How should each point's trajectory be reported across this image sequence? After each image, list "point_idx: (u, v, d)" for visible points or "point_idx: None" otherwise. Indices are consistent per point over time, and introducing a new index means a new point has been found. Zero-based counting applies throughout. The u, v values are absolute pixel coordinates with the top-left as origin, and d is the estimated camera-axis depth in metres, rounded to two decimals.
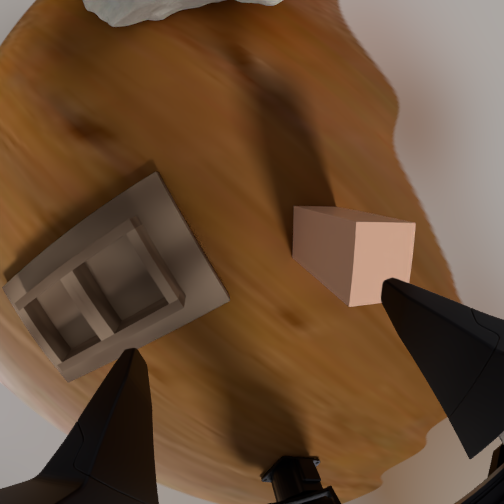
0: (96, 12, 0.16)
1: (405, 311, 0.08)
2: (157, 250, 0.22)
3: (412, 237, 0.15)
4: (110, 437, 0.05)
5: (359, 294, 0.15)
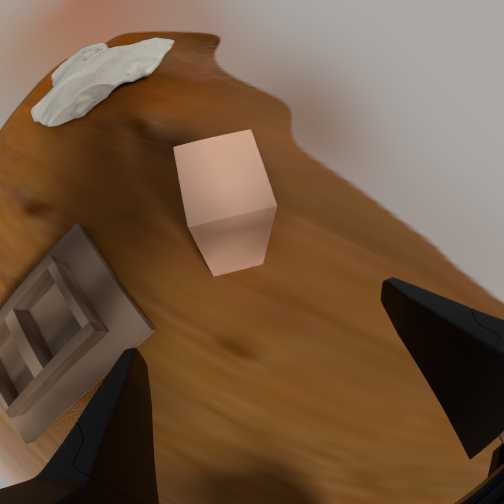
0: (39, 120, 0.26)
1: (405, 311, 0.08)
2: (80, 289, 0.21)
3: (255, 143, 0.14)
4: (110, 437, 0.05)
5: (197, 211, 0.13)
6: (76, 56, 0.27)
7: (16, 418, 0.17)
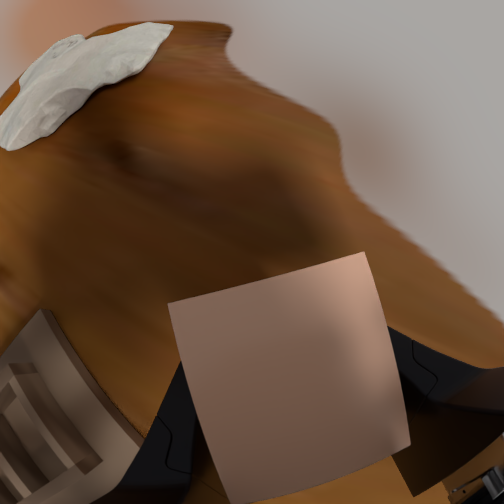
0: None
1: None
2: (57, 404, 0.13)
3: (373, 292, 0.06)
4: (201, 428, 0.06)
5: (249, 479, 0.04)
6: (46, 53, 0.19)
7: None
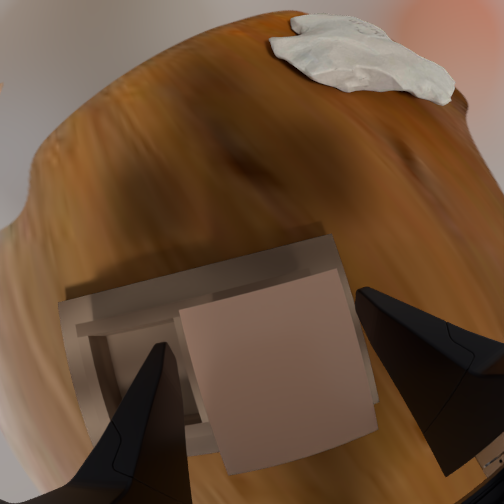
0: (289, 59, 0.23)
1: (377, 323, 0.08)
2: None
3: (344, 301, 0.07)
4: (150, 434, 0.05)
5: (243, 451, 0.06)
6: (340, 19, 0.24)
7: (99, 429, 0.15)
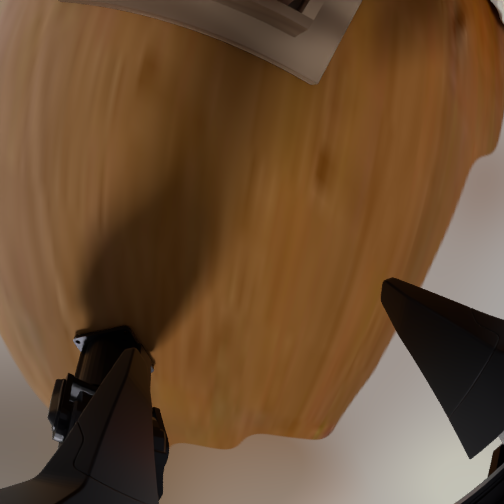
0: None
1: (405, 311, 0.08)
2: None
3: None
4: (110, 437, 0.05)
5: None
6: None
7: None
